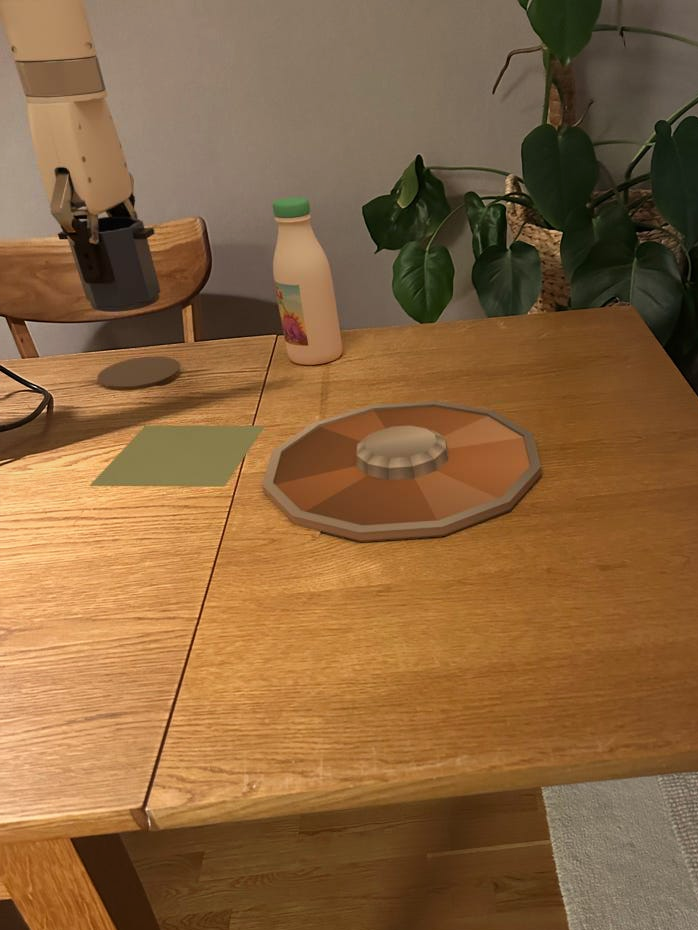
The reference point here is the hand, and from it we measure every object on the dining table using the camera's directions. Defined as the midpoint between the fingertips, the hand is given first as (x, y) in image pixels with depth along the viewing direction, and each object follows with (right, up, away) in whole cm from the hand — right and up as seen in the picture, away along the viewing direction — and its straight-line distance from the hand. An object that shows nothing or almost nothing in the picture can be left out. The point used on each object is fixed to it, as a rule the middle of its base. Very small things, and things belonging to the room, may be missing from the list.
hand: (116, 270), depth 93 cm
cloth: (+6, -20, +2) cm, 21 cm away
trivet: (-6, -5, +22) cm, 24 cm away
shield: (+32, -23, -2) cm, 39 cm away
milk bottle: (+17, -1, +26) cm, 31 cm away
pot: (0, -3, +2) cm, 3 cm away
